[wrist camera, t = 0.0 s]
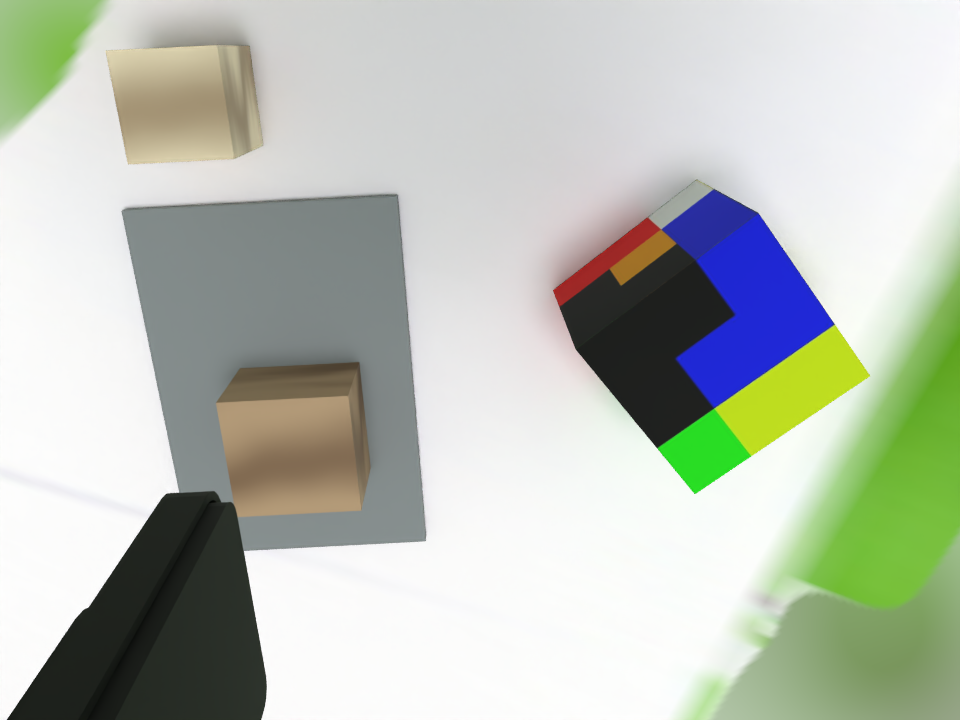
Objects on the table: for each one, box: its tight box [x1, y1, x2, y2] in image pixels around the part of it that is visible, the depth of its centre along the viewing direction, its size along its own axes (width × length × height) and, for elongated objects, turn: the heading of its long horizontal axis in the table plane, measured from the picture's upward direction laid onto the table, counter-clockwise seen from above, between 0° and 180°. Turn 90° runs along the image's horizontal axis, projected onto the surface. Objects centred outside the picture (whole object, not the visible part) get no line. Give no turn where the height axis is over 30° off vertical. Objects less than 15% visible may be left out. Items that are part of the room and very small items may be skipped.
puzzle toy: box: [553, 180, 870, 494], centre depth 43 cm, size 10×10×10 cm
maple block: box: [106, 45, 263, 164], centre depth 40 cm, size 5×5×6 cm
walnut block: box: [216, 362, 371, 517], centre depth 46 cm, size 7×7×5 cm
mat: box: [122, 195, 426, 551], centre depth 48 cm, size 22×15×1 cm
